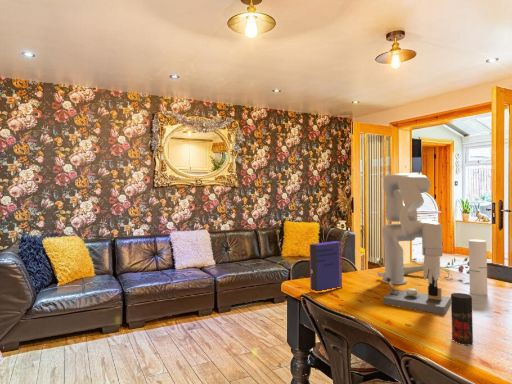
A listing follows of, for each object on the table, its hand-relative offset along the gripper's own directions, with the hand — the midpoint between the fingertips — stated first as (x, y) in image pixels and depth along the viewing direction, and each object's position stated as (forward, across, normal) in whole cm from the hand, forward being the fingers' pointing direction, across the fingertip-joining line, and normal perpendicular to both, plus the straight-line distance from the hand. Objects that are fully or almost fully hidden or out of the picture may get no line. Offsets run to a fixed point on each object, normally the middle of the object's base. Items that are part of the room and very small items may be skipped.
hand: (433, 295), depth 148 cm
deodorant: (+6, +30, +14) cm, 33 cm away
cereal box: (+6, -2, -50) cm, 50 cm away
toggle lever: (+2, -2, -16) cm, 17 cm away
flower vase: (+6, -60, -10) cm, 61 cm away
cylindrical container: (+6, -36, +13) cm, 39 cm away
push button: (+1, -2, -9) cm, 9 cm away
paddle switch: (+3, -3, 0) cm, 4 cm away
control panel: (+6, -2, -7) cm, 9 cm away
